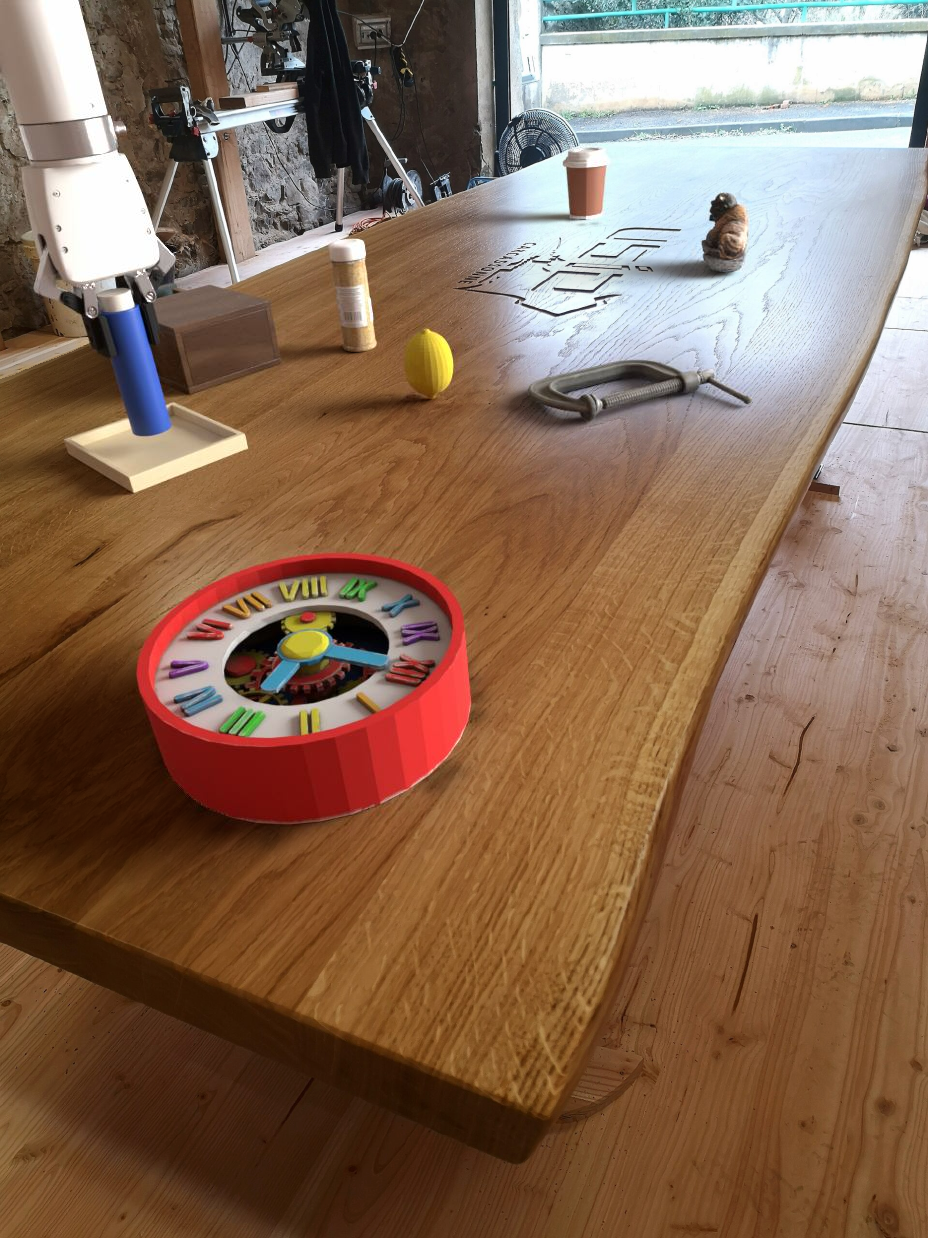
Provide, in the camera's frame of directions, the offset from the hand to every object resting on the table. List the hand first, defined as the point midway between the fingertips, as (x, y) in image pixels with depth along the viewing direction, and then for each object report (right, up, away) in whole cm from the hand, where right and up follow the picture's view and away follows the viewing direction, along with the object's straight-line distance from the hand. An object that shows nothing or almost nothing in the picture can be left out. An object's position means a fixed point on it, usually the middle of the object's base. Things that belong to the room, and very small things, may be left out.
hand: (128, 346), depth 89 cm
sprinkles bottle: (+20, +9, +31) cm, 38 cm away
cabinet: (0, +6, +29) cm, 29 cm away
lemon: (+30, -2, +14) cm, 33 cm away
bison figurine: (+74, +28, +52) cm, 95 cm away
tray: (+1, -9, +6) cm, 11 cm away
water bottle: (+1, -7, +5) cm, 9 cm away
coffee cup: (+58, +54, +91) cm, 121 cm away
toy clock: (+24, -33, -31) cm, 51 cm away
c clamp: (+52, -3, +10) cm, 53 cm away
